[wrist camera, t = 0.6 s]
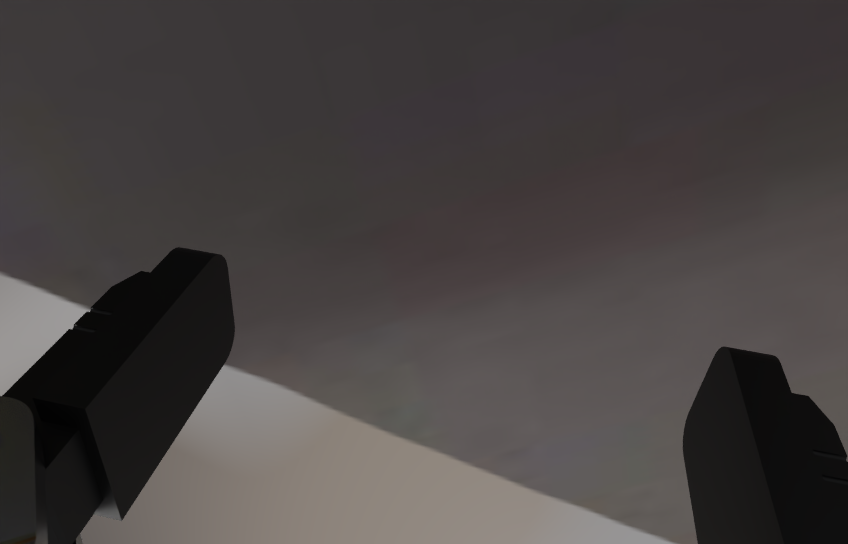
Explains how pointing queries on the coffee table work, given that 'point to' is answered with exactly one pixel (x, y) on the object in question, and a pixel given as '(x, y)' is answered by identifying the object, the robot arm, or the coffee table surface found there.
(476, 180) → the coffee table surface
